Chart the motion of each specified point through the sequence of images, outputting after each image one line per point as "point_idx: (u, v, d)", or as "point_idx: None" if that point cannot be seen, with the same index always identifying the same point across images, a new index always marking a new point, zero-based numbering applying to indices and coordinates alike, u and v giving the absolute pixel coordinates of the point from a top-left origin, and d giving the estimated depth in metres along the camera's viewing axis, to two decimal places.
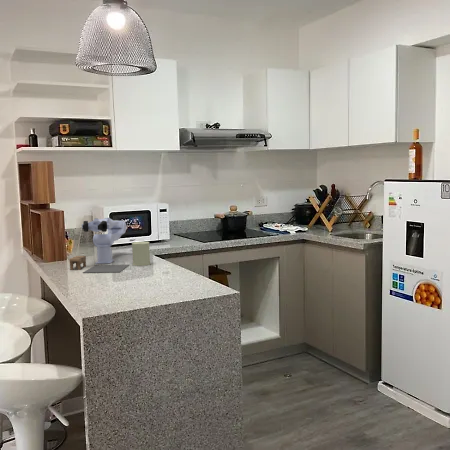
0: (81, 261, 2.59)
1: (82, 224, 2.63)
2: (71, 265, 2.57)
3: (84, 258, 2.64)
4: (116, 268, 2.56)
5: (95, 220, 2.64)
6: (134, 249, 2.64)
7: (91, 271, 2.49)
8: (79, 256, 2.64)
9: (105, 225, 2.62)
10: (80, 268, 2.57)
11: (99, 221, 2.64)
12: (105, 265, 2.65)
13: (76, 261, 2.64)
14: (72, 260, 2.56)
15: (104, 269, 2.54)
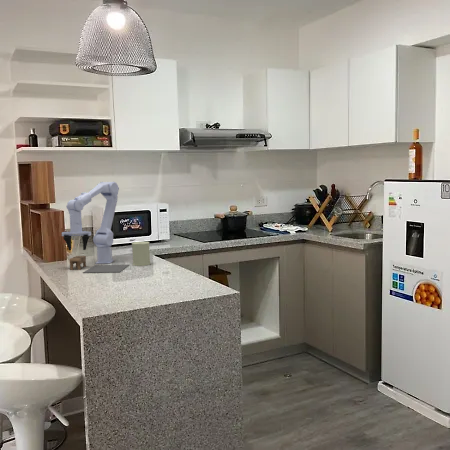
0: (81, 261, 2.59)
1: None
2: (71, 265, 2.57)
3: (84, 258, 2.64)
4: (116, 268, 2.56)
5: None
6: (134, 249, 2.64)
7: (91, 271, 2.49)
8: (79, 256, 2.64)
9: None
10: (80, 268, 2.57)
11: None
12: (105, 265, 2.65)
13: (76, 261, 2.64)
14: (72, 260, 2.56)
15: (104, 269, 2.54)
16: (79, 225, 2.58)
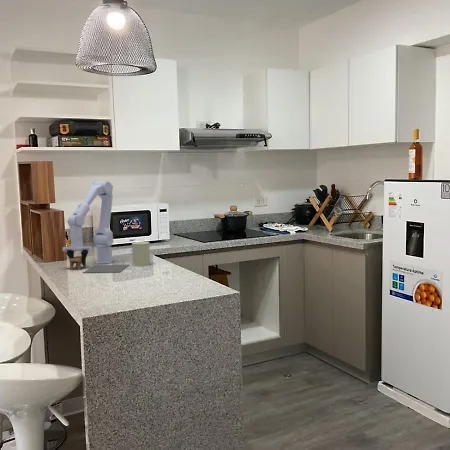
0: (81, 261, 2.59)
1: None
2: (71, 265, 2.57)
3: None
4: (116, 268, 2.56)
5: None
6: (134, 249, 2.64)
7: (91, 271, 2.49)
8: (79, 256, 2.64)
9: (85, 252, 2.60)
10: (80, 268, 2.57)
11: None
12: (105, 265, 2.65)
13: (76, 261, 2.64)
14: (72, 260, 2.56)
15: (104, 269, 2.54)
16: (80, 240, 2.59)
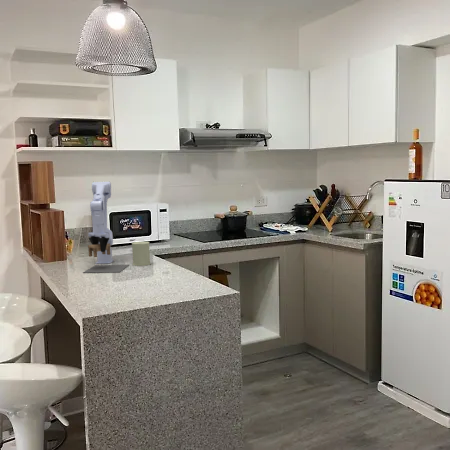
0: (99, 248, 2.54)
1: None
2: (89, 251, 2.55)
3: (107, 246, 2.58)
4: (116, 268, 2.56)
5: (93, 235, 2.54)
6: (134, 249, 2.64)
7: (91, 271, 2.49)
8: None
9: (104, 239, 2.54)
10: (96, 255, 2.53)
11: (97, 235, 2.54)
12: (105, 265, 2.65)
13: None
14: (89, 246, 2.54)
15: (104, 269, 2.54)
16: (98, 226, 2.54)
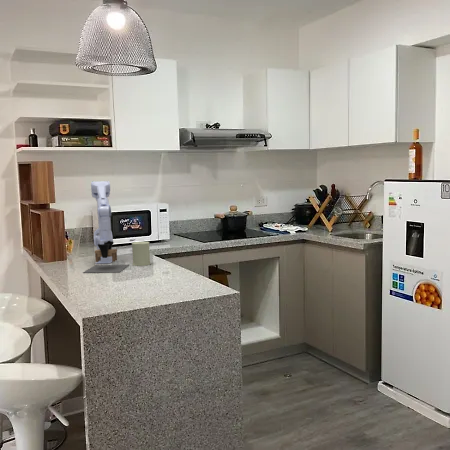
0: (100, 254, 2.54)
1: None
2: None
3: (110, 252, 2.53)
4: (116, 268, 2.56)
5: None
6: (134, 249, 2.64)
7: (91, 271, 2.49)
8: (112, 249, 2.56)
9: None
10: (96, 260, 2.54)
11: (99, 240, 2.54)
12: (105, 265, 2.65)
13: None
14: None
15: (104, 269, 2.54)
16: (100, 232, 2.53)
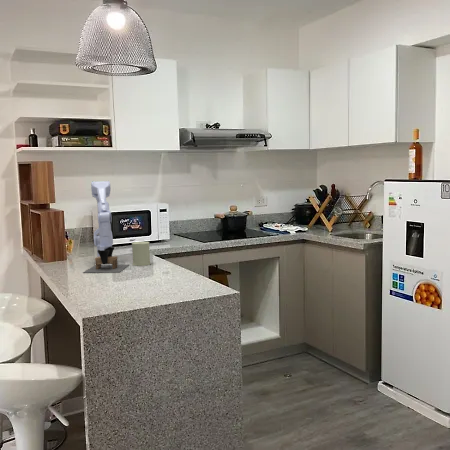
0: (101, 261, 2.54)
1: None
2: None
3: (110, 260, 2.54)
4: (116, 268, 2.56)
5: None
6: (134, 249, 2.64)
7: (91, 271, 2.49)
8: (112, 257, 2.56)
9: (102, 251, 2.51)
10: (97, 268, 2.55)
11: (100, 246, 2.54)
12: (105, 265, 2.65)
13: None
14: None
15: (104, 269, 2.54)
16: (101, 238, 2.53)
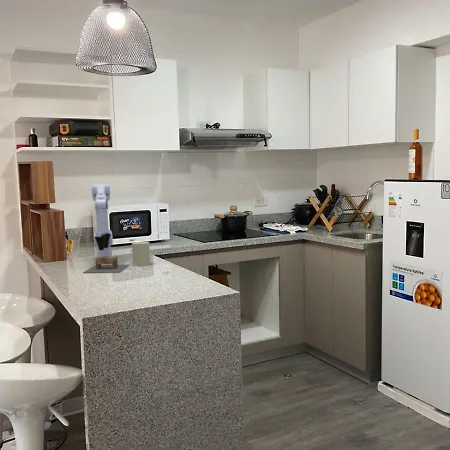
0: (101, 261, 2.54)
1: None
2: None
3: (110, 260, 2.54)
4: (116, 268, 2.56)
5: None
6: (134, 249, 2.64)
7: (91, 271, 2.49)
8: (112, 257, 2.56)
9: (99, 237, 2.56)
10: (97, 268, 2.55)
11: (97, 233, 2.60)
12: (105, 265, 2.65)
13: None
14: None
15: (104, 269, 2.54)
16: (98, 225, 2.59)
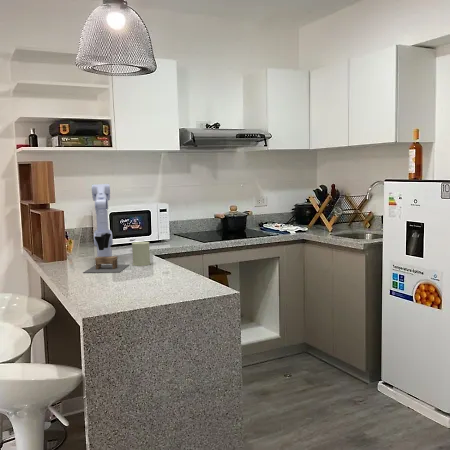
0: (101, 261, 2.54)
1: None
2: None
3: (110, 260, 2.54)
4: (116, 268, 2.56)
5: None
6: (134, 249, 2.64)
7: (91, 271, 2.49)
8: (112, 257, 2.56)
9: (98, 237, 2.56)
10: (97, 268, 2.55)
11: (97, 233, 2.60)
12: (105, 265, 2.65)
13: None
14: None
15: (104, 269, 2.54)
16: (98, 225, 2.59)
